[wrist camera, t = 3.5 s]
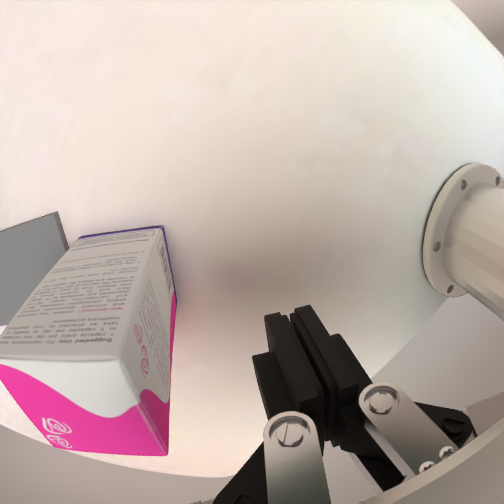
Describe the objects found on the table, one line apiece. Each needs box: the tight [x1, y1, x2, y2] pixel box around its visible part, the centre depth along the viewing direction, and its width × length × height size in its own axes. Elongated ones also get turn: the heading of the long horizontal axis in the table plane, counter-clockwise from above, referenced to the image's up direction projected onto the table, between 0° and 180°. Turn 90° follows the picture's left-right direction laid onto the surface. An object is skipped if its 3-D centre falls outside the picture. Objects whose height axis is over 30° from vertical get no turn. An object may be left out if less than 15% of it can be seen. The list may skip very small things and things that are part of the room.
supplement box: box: [0, 225, 177, 456], centre depth 13 cm, size 6×6×12 cm
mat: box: [0, 212, 69, 326], centre depth 16 cm, size 11×7×1 cm, turn 99°
